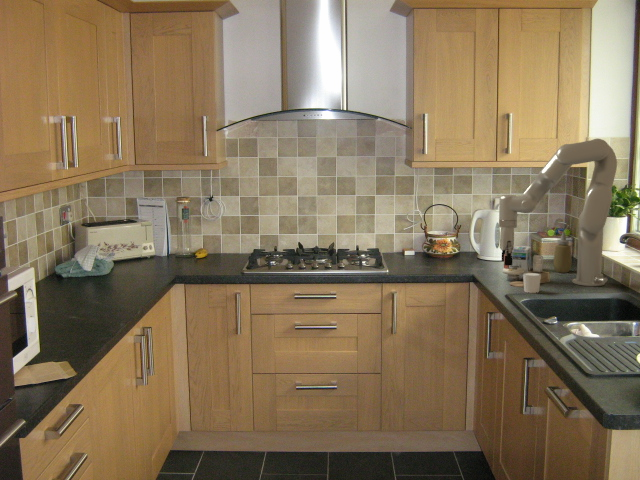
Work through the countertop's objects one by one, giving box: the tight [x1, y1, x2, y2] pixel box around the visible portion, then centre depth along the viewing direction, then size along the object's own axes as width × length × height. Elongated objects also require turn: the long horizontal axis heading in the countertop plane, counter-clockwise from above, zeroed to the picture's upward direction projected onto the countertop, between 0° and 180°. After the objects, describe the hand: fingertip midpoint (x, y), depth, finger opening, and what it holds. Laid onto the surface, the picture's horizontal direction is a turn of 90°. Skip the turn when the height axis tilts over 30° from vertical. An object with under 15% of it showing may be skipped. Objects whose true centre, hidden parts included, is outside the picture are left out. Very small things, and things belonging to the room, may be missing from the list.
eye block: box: [526, 270, 551, 284], centre depth 306 cm, size 7×7×4 cm
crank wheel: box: [502, 254, 525, 275], centre depth 308 cm, size 9×9×8 cm
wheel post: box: [506, 274, 521, 282], centre depth 309 cm, size 5×5×3 cm
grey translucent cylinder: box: [532, 254, 544, 273], centre depth 305 cm, size 4×4×11 cm
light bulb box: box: [512, 245, 532, 273], centre depth 330 cm, size 11×7×11 cm, turn 155°
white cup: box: [522, 273, 541, 294], centre depth 287 cm, size 7×7×7 cm
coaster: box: [509, 280, 524, 288], centre depth 299 cm, size 9×9×1 cm
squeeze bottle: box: [553, 231, 573, 274], centre depth 325 cm, size 8×8×18 cm
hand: (506, 263), depth 310 cm, fingers open, 9 cm apart
